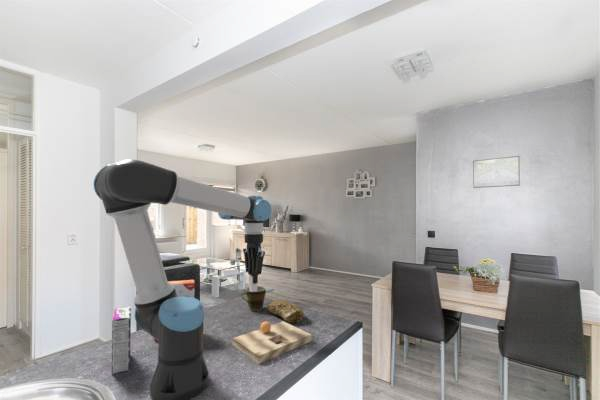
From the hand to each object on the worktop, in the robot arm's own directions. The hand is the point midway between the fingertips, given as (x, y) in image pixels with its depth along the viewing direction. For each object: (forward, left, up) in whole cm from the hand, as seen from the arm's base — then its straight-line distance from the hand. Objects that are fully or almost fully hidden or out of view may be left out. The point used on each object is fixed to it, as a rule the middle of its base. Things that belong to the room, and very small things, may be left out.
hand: (253, 290), depth 117 cm
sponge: (+20, +4, -17) cm, 27 cm away
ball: (0, -9, -12) cm, 15 cm away
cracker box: (-25, +17, -17) cm, 34 cm away
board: (0, -14, -16) cm, 21 cm away
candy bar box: (-45, +7, -17) cm, 48 cm away
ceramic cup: (+14, +21, -17) cm, 30 cm away
